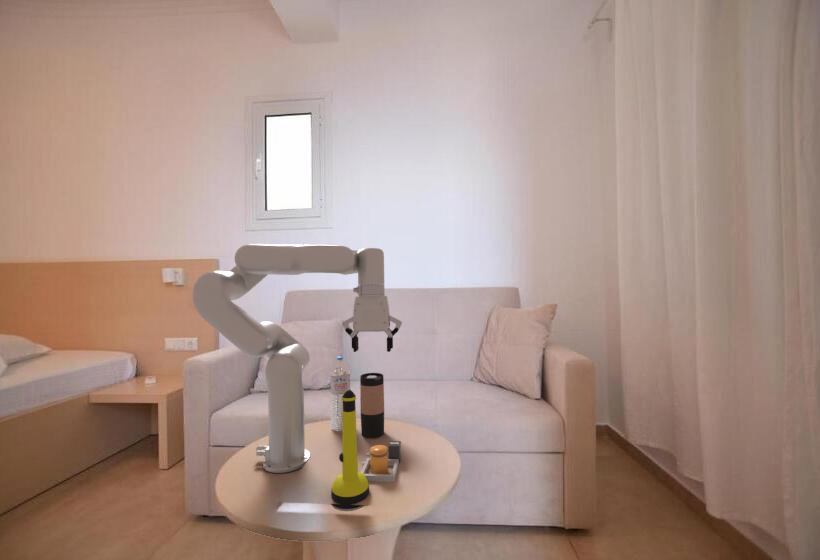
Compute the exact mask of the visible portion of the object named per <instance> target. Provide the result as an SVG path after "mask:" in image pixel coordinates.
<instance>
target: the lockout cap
mask: <svg viewBox="0 0 820 560" xmlns="http://www.w3.org/2000/svg"><path fill="white" fill-rule="evenodd" d="M369 452H370V456H369V458H370V464H371V465H370V474H388V473H389V466H388V459H389V456H388V453H389V450H388V446H386V445H383V444H377V445H376V444H375V445H373V446H371V447H370V448H369Z"/></svg>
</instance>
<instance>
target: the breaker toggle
mask: <svg viewBox="0 0 820 560" xmlns="http://www.w3.org/2000/svg"><path fill="white" fill-rule="evenodd" d="M387 450H388V453H389V456H388V459H399V464H400V463H401V459H402V441H401V440H397V441H396V440H389V443H388V446H387Z"/></svg>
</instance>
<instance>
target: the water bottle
mask: <svg viewBox="0 0 820 560" xmlns="http://www.w3.org/2000/svg"><path fill="white" fill-rule="evenodd" d="M336 359H337V360H336V362H335V363H334V364H333V365H332V366H331V368H330V369H329V376H330V378H329V379H330V381H329V382H330V383H329V384H330V394H329V396H330V397H329V398H330V408H329V409H330V430H331V431H335V432H343V400H342V396H343V395H344V393H345V392H346V391H347V390H351V368H350V366H349V365H348V363H346V362H345V361H343V359H344V357H343V356H337V357H336Z"/></svg>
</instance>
